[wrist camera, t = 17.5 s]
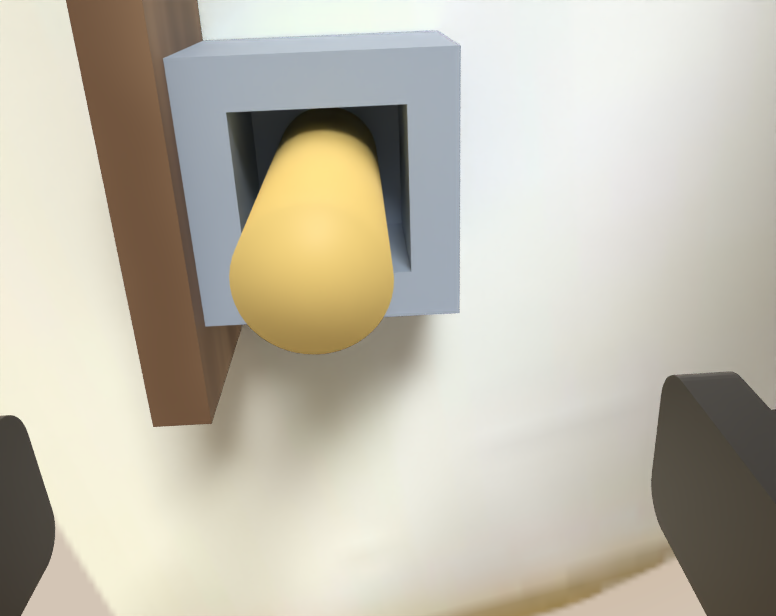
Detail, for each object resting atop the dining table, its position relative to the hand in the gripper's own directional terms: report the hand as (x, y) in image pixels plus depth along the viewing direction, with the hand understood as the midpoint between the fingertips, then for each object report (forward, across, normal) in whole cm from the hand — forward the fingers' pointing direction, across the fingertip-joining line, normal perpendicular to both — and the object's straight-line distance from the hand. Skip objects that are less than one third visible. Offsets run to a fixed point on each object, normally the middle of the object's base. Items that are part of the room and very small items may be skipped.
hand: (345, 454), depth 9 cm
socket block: (+15, +1, 0) cm, 16 cm away
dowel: (+15, +1, 0) cm, 15 cm away
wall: (+15, +5, 0) cm, 16 cm away
